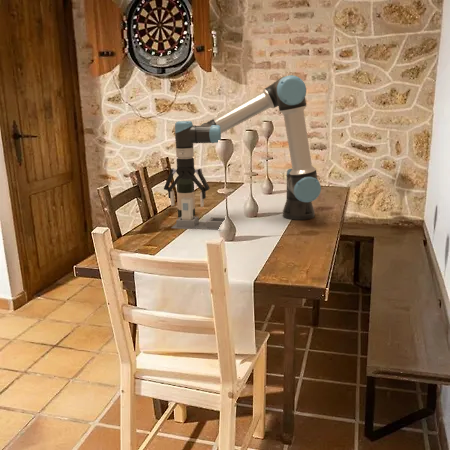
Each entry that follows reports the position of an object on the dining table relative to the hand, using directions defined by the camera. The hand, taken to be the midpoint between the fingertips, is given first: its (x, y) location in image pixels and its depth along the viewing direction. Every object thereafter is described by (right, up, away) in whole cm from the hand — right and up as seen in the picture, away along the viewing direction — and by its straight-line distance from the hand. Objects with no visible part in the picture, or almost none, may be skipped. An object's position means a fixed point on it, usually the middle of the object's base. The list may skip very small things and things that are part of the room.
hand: (187, 205), depth 219 cm
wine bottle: (-2, -5, +21) cm, 21 cm away
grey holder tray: (+7, -10, +1) cm, 12 cm away
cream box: (0, -9, +2) cm, 9 cm away
